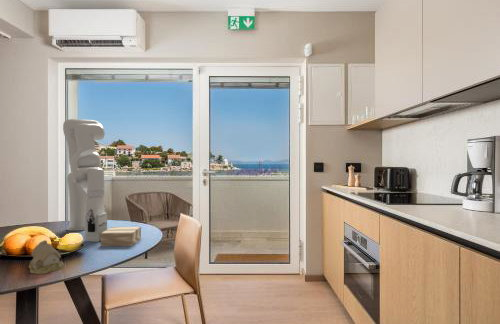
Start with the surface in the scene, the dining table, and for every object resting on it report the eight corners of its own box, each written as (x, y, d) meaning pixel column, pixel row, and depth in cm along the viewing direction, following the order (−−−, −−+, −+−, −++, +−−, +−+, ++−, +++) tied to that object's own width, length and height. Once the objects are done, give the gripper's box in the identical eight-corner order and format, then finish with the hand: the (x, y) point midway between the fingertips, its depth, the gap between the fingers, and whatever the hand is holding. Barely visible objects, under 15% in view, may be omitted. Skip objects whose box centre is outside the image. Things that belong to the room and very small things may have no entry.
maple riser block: (111, 239, 172) (111, 226, 171) (140, 238, 172) (140, 226, 172) (100, 246, 158) (100, 233, 157) (132, 246, 158) (132, 233, 158)
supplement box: (98, 241, 165) (98, 215, 165) (84, 241, 167) (84, 214, 166) (107, 238, 172) (107, 212, 172) (94, 237, 174) (94, 211, 173)
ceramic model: (69, 268, 128) (69, 240, 127) (35, 276, 119) (34, 247, 119) (53, 260, 137) (52, 235, 136) (20, 268, 128) (19, 240, 128)
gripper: (96, 192, 178) (97, 225, 178) (78, 196, 160) (79, 233, 161) (111, 192, 177) (111, 226, 178) (94, 196, 160) (95, 233, 160)
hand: (96, 229), depth 169 cm, fingers open, 9 cm apart
